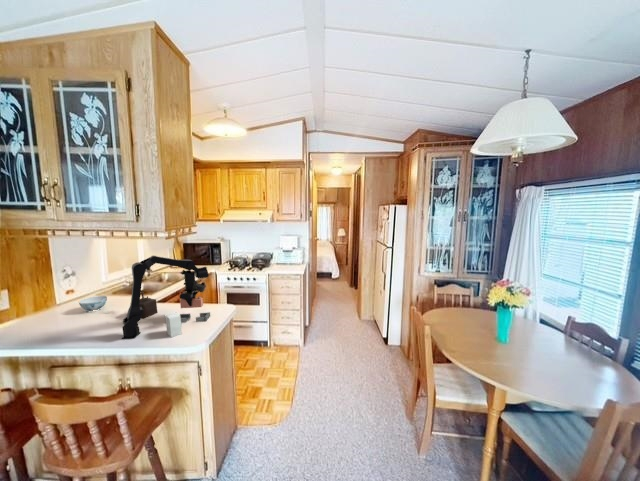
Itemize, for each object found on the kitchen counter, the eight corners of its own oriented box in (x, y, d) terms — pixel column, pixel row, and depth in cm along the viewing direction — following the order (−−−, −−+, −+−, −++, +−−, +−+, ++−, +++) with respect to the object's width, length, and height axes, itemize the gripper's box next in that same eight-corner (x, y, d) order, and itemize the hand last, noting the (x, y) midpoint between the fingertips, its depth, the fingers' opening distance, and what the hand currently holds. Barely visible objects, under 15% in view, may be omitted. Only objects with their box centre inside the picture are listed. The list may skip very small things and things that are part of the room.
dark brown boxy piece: (158, 312, 180) (156, 286, 178) (143, 318, 169) (140, 291, 167) (141, 310, 185) (138, 284, 182) (125, 316, 174) (122, 289, 172)
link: (180, 308, 163) (180, 299, 163) (183, 306, 167) (182, 297, 166) (201, 307, 165) (200, 298, 164) (203, 305, 168) (202, 296, 167)
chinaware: (101, 305, 196) (100, 294, 195) (112, 308, 190) (111, 297, 189) (75, 312, 183) (74, 301, 182) (87, 315, 176) (85, 304, 175)
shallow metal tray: (175, 323, 162) (174, 319, 162) (180, 317, 170) (180, 314, 169) (206, 321, 164) (206, 317, 163) (210, 316, 171) (210, 312, 171)
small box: (182, 334, 148) (180, 315, 146) (171, 337, 144) (169, 318, 143) (177, 329, 153) (176, 311, 152) (166, 332, 150) (164, 314, 148)
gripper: (198, 284, 155) (200, 310, 157) (208, 275, 174) (210, 299, 176) (178, 284, 154) (180, 311, 156) (190, 276, 173) (192, 300, 174)
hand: (191, 305), depth 166 cm, fingers closed on link, 3 cm apart
